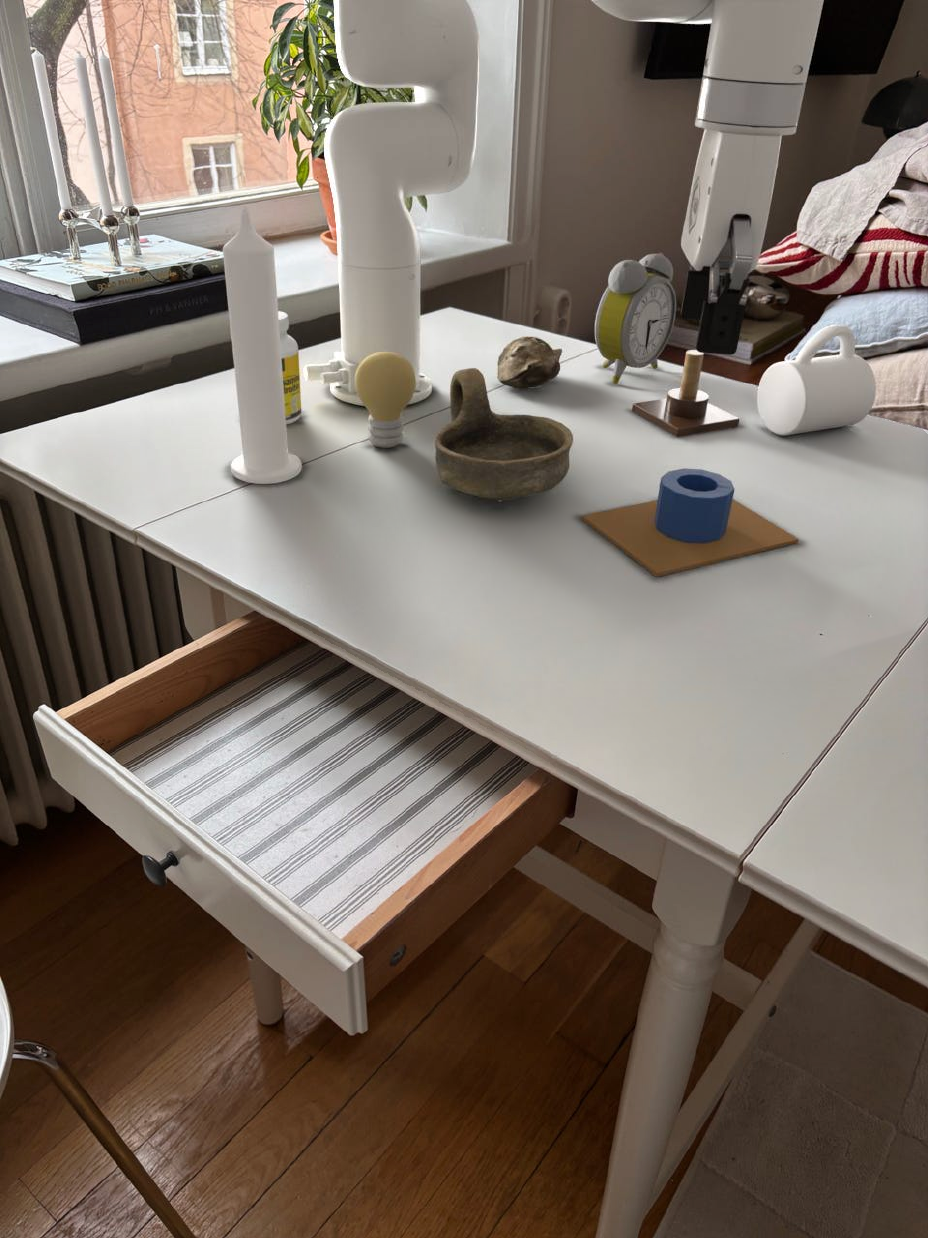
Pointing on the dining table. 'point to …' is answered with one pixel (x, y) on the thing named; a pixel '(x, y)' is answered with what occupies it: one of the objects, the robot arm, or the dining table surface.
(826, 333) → the mug
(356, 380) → the light bulb
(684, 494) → the blue hollow cylinder
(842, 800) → the dining table surface
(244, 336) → the candle
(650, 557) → the mat
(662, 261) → the alarm clock
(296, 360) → the pill bottle
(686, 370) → the dowel stand
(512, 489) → the bowl
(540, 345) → the fossilized seashell
